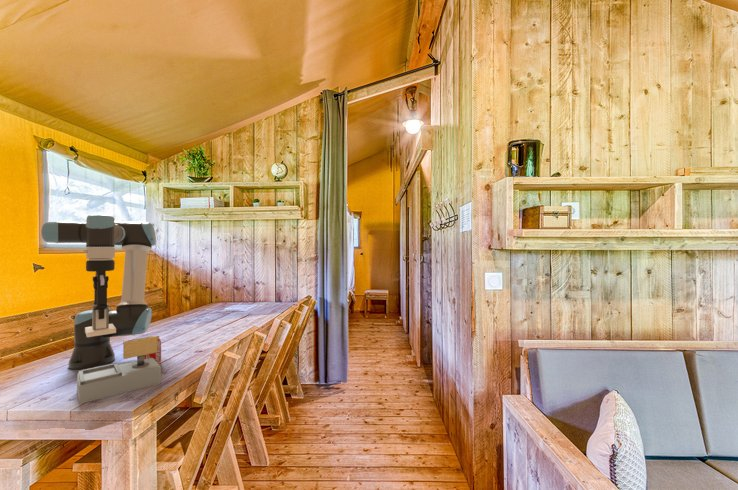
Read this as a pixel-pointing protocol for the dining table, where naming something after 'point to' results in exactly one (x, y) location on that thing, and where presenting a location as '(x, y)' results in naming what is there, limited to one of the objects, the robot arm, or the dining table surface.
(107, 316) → the cover
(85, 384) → the case
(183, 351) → the dining table surface
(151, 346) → the tan sign on stand
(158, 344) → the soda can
